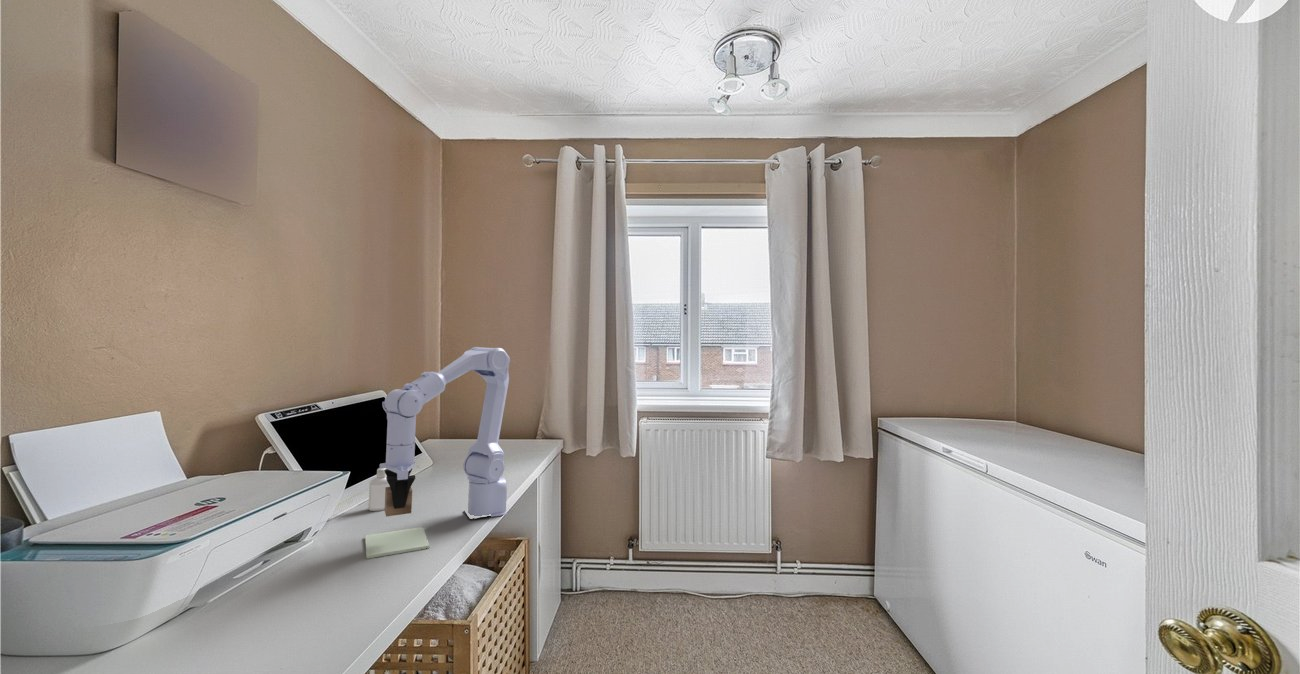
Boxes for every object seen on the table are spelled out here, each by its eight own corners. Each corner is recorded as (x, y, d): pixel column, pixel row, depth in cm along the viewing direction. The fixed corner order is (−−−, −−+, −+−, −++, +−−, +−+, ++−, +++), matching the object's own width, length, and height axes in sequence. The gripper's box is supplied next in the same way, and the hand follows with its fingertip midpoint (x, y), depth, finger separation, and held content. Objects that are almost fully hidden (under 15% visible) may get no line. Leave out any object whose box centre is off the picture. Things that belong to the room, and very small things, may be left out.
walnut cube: (409, 506, 114) (409, 484, 114) (411, 513, 110) (412, 490, 110) (384, 509, 111) (385, 487, 111) (385, 516, 107) (386, 493, 107)
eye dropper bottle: (387, 511, 130) (389, 465, 130) (365, 511, 129) (367, 465, 129) (395, 506, 134) (396, 461, 134) (373, 505, 134) (375, 461, 134)
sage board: (422, 529, 119) (422, 526, 119) (429, 548, 108) (429, 545, 108) (365, 538, 112) (365, 535, 112) (366, 558, 102) (366, 555, 102)
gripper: (379, 438, 115) (376, 496, 115) (382, 451, 102) (379, 517, 102) (412, 436, 118) (410, 493, 118) (419, 448, 106) (417, 512, 106)
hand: (398, 503), depth 111 cm, fingers closed on walnut cube, 5 cm apart
